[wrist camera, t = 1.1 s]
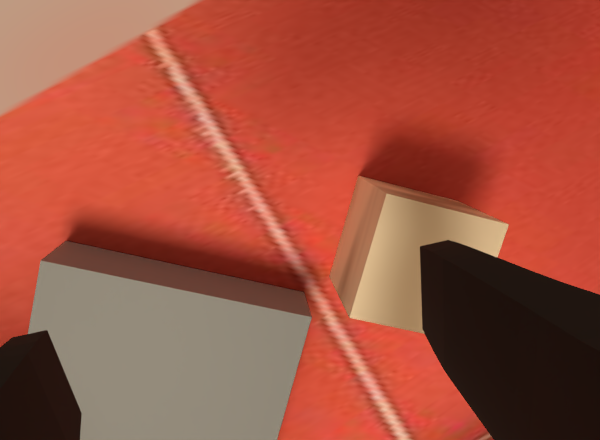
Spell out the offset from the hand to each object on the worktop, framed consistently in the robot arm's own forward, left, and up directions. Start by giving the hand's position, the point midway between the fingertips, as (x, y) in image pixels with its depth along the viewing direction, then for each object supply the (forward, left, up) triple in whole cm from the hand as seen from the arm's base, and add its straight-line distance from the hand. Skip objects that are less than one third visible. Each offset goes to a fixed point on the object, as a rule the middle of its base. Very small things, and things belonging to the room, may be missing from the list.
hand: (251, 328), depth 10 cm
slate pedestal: (+2, +9, -14) cm, 17 cm away
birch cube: (-7, 0, -14) cm, 16 cm away
